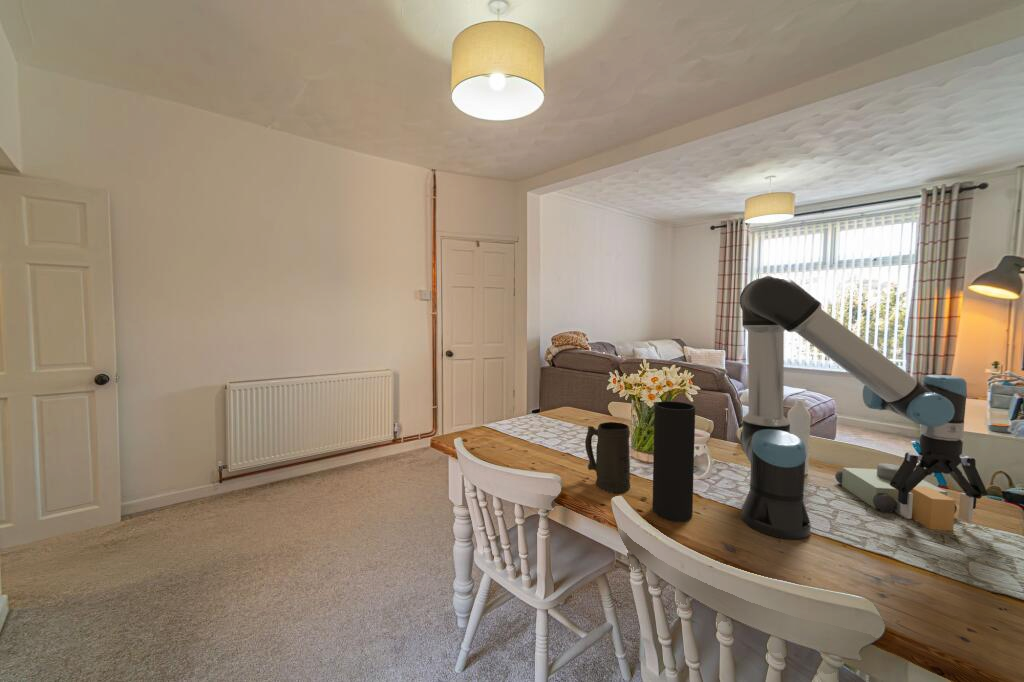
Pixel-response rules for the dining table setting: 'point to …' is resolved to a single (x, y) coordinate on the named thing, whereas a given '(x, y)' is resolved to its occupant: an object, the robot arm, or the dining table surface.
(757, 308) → the robot arm
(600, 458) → the beer stein
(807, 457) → the water bottle
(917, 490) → the orange block
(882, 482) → the mower deck
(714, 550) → the dining table surface
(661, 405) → the vase
